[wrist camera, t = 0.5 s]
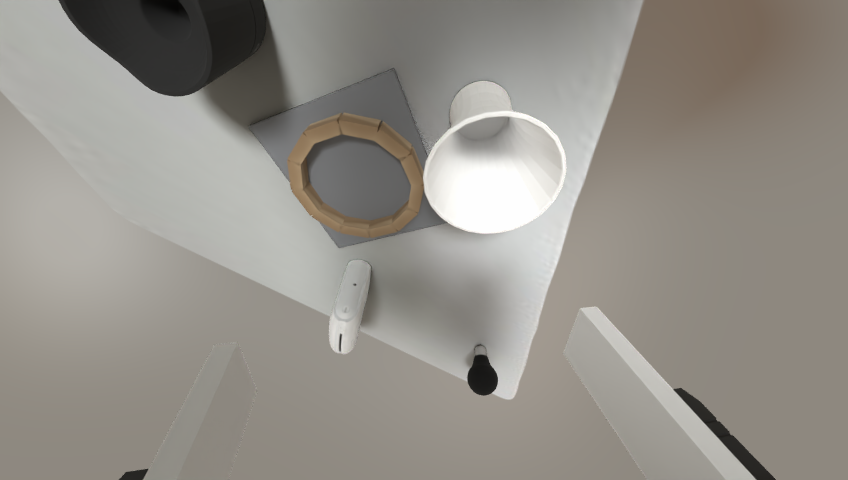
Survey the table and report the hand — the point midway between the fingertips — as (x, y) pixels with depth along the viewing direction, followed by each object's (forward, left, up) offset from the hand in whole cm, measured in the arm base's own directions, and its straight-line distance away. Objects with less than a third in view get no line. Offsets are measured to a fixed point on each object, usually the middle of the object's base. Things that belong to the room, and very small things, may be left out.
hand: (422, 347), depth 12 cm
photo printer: (+24, -22, -28) cm, 43 cm away
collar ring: (+6, -12, -28) cm, 31 cm away
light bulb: (+51, -7, -28) cm, 58 cm away
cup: (+3, +4, -28) cm, 28 cm away
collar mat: (+6, -12, -28) cm, 31 cm away
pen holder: (-14, -16, -28) cm, 35 cm away
